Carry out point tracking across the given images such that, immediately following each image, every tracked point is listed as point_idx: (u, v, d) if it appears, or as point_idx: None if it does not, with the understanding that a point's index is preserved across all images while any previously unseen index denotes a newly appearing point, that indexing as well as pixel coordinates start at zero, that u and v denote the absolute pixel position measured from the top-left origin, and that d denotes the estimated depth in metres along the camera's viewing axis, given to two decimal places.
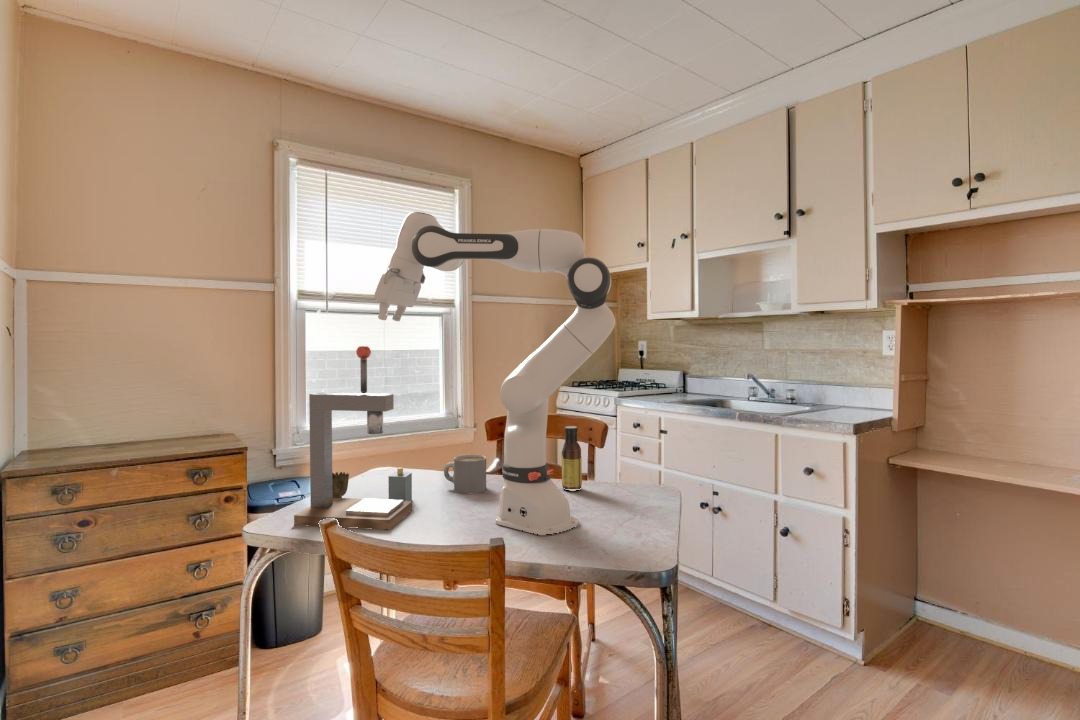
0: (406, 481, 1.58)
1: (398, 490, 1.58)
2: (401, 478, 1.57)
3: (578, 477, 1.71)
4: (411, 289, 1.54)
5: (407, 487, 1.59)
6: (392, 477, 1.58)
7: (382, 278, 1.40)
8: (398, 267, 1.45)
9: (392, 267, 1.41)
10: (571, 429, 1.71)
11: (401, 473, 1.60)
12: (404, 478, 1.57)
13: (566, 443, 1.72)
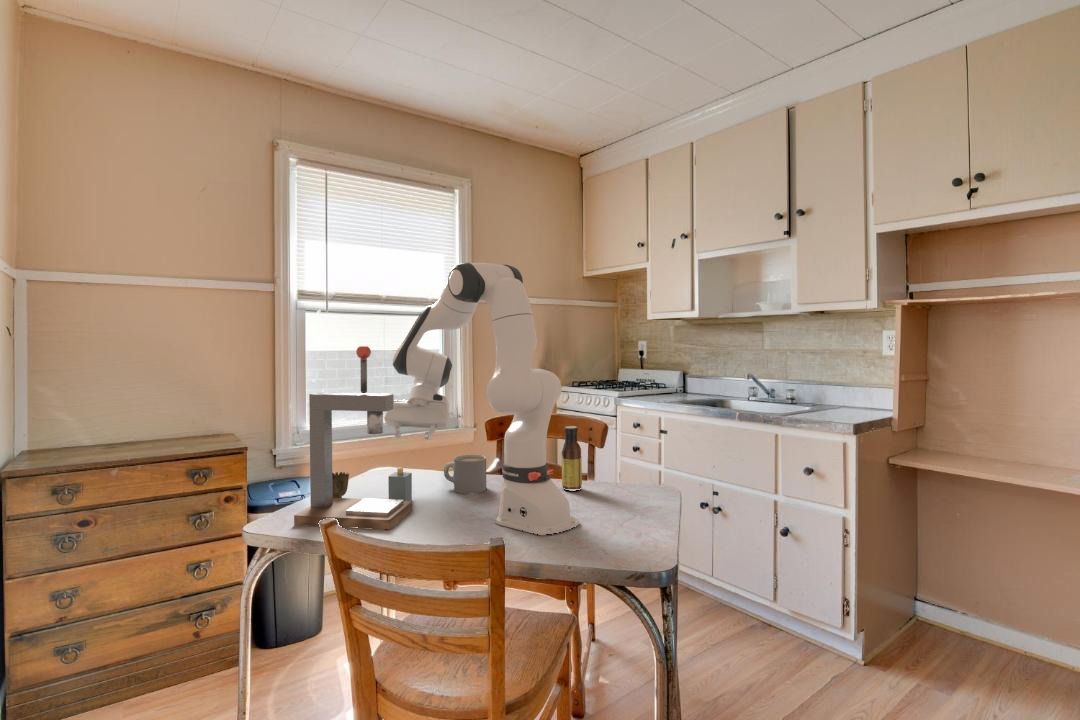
0: (406, 481, 1.58)
1: (398, 490, 1.58)
2: (401, 478, 1.57)
3: (578, 477, 1.71)
4: (433, 410, 1.76)
5: (407, 487, 1.59)
6: (392, 477, 1.58)
7: None
8: None
9: (396, 400, 1.81)
10: (571, 429, 1.71)
11: (401, 473, 1.60)
12: (404, 478, 1.57)
13: (566, 443, 1.72)
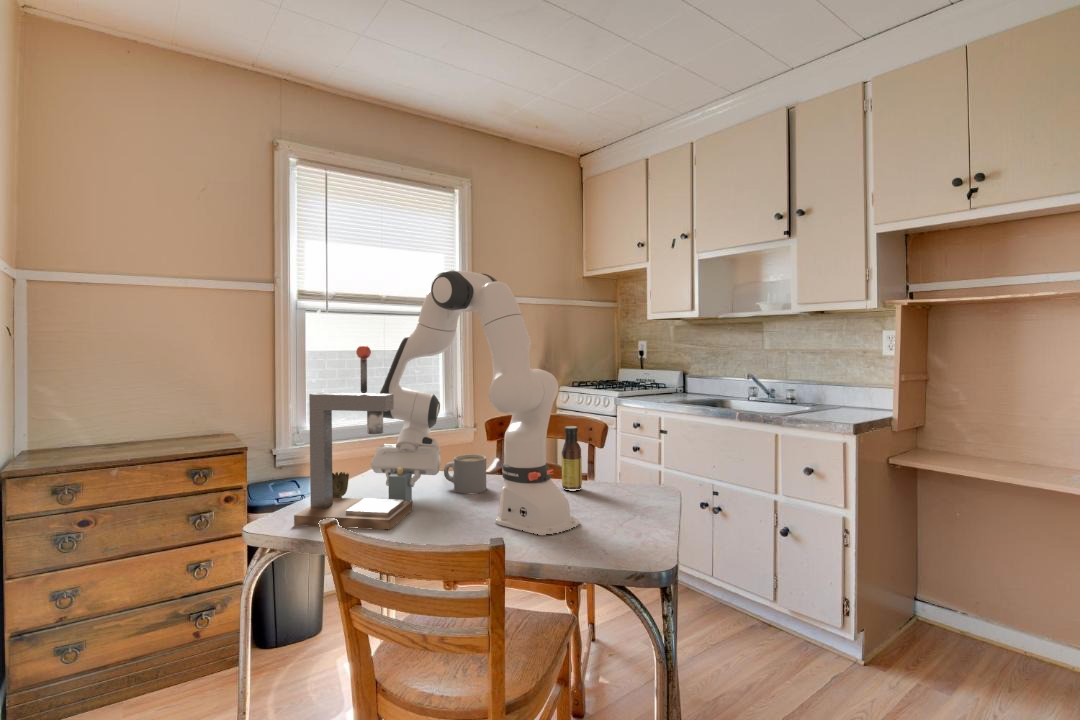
0: (406, 481, 1.58)
1: (398, 490, 1.58)
2: (401, 478, 1.57)
3: (578, 477, 1.71)
4: (422, 454, 1.64)
5: (407, 487, 1.59)
6: (392, 477, 1.58)
7: None
8: None
9: (385, 444, 1.70)
10: (571, 429, 1.71)
11: (401, 473, 1.60)
12: (404, 478, 1.57)
13: (566, 443, 1.72)
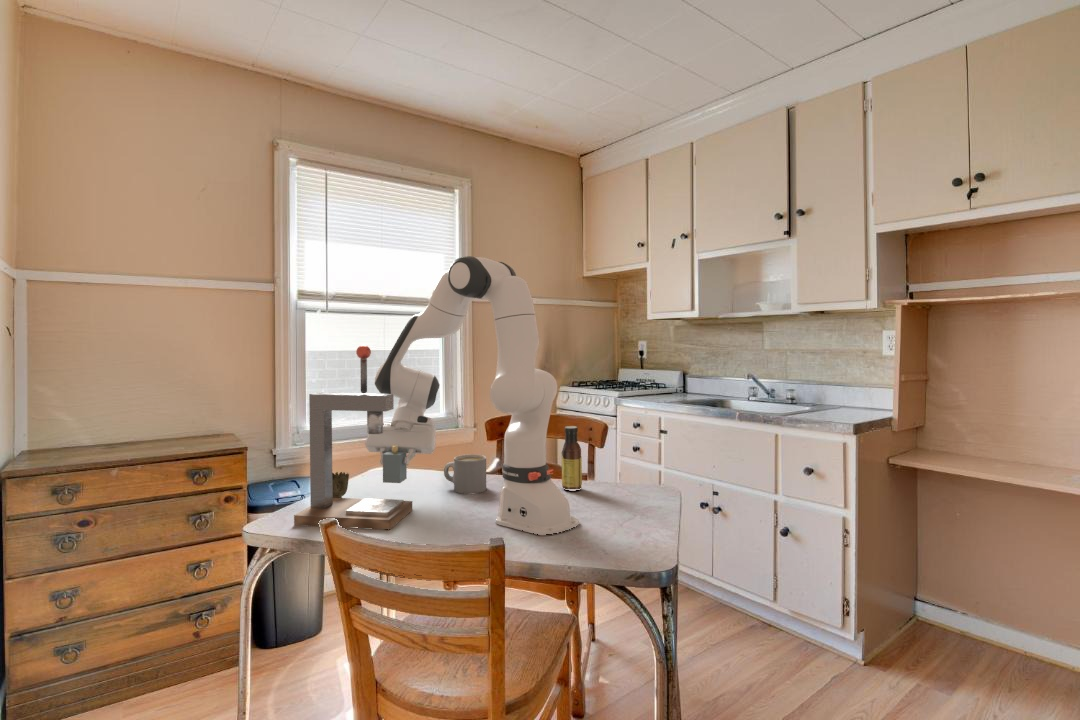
0: (400, 460, 1.56)
1: (393, 468, 1.56)
2: (395, 456, 1.55)
3: (578, 477, 1.71)
4: (417, 433, 1.62)
5: (402, 465, 1.57)
6: (386, 455, 1.56)
7: None
8: None
9: None
10: (571, 429, 1.71)
11: (396, 451, 1.58)
12: (398, 456, 1.55)
13: (566, 443, 1.72)
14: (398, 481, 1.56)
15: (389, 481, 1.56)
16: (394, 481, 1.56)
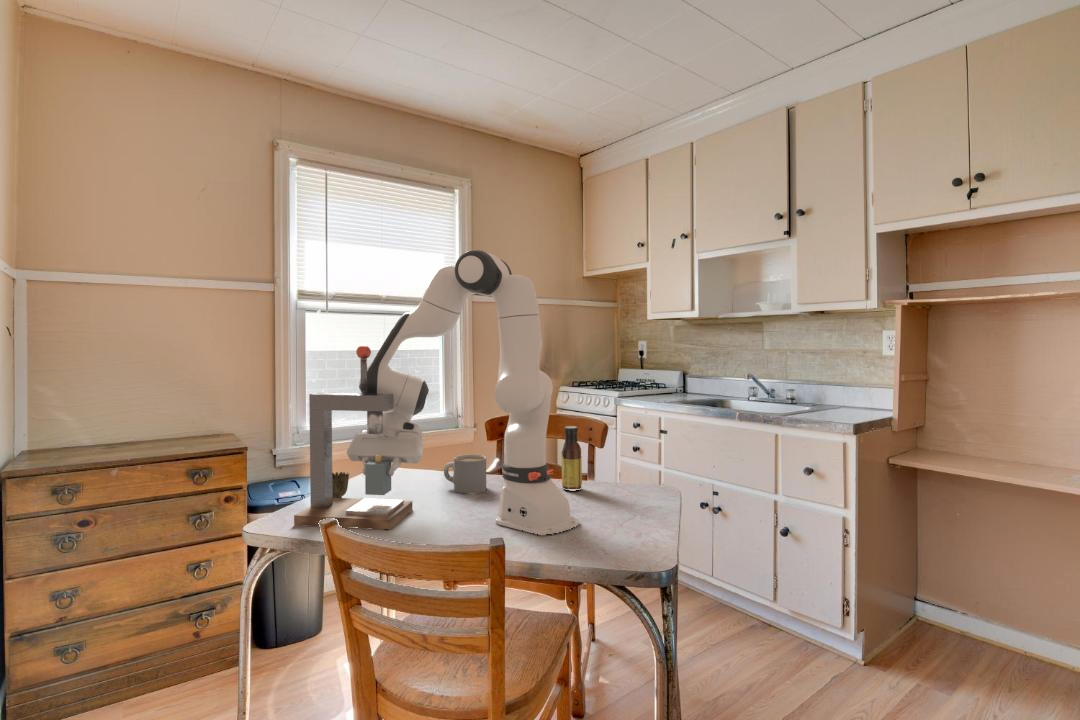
0: (384, 470, 1.45)
1: (376, 479, 1.45)
2: (379, 466, 1.44)
3: (578, 477, 1.71)
4: (402, 441, 1.51)
5: (386, 476, 1.46)
6: (369, 465, 1.45)
7: None
8: None
9: None
10: (571, 429, 1.71)
11: (379, 461, 1.46)
12: (382, 466, 1.44)
13: (566, 443, 1.72)
14: (382, 492, 1.44)
15: (372, 493, 1.45)
16: (377, 493, 1.45)
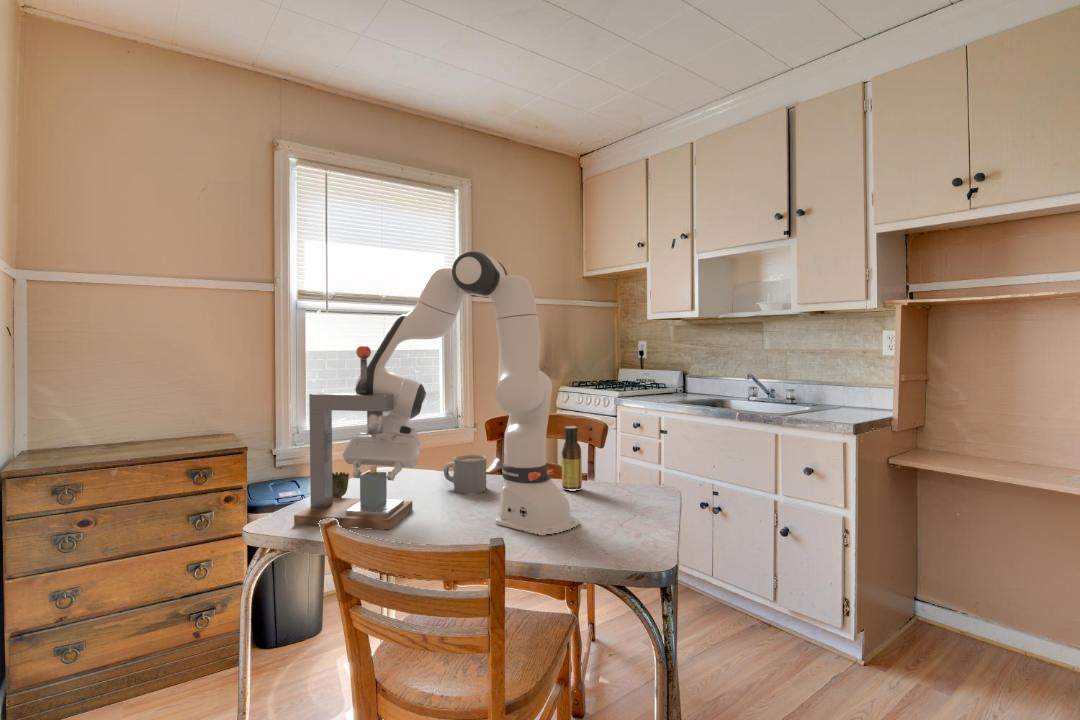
0: (379, 482, 1.44)
1: (371, 491, 1.44)
2: (374, 478, 1.43)
3: (578, 477, 1.71)
4: (399, 445, 1.50)
5: (380, 488, 1.45)
6: (364, 477, 1.44)
7: None
8: None
9: (360, 433, 1.56)
10: (571, 429, 1.71)
11: (374, 473, 1.45)
12: (377, 478, 1.43)
13: (566, 443, 1.72)
14: (376, 505, 1.44)
15: (367, 505, 1.44)
16: (372, 505, 1.44)
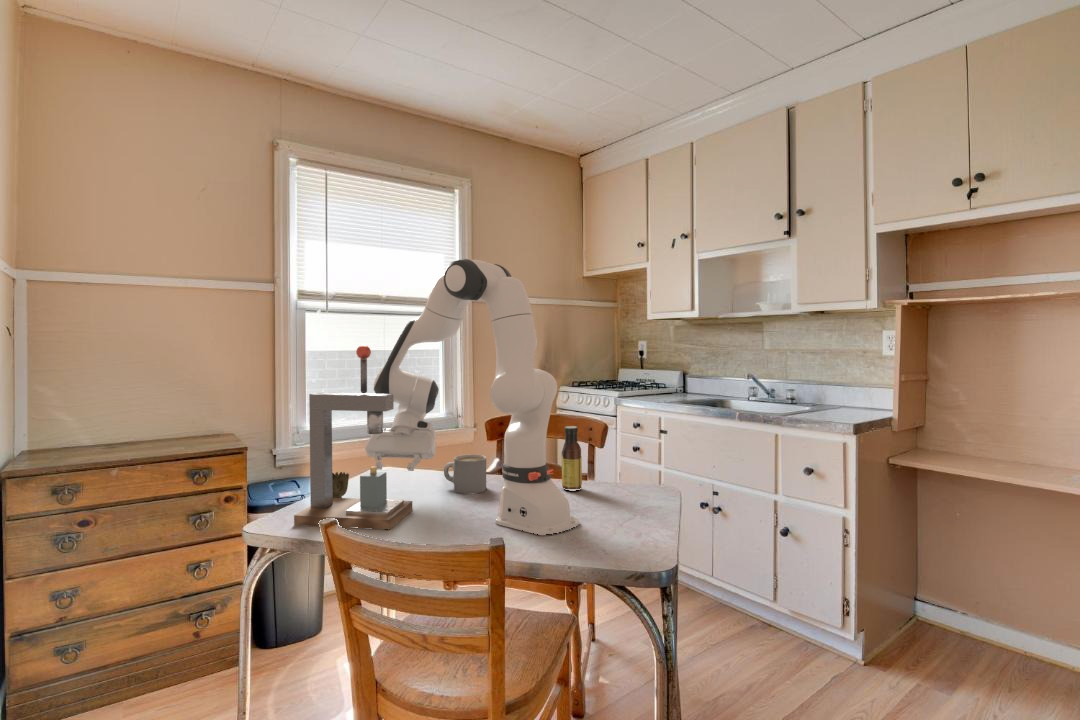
0: (379, 482, 1.44)
1: (371, 491, 1.44)
2: (374, 478, 1.43)
3: (578, 477, 1.71)
4: (417, 438, 1.62)
5: (380, 488, 1.45)
6: (364, 477, 1.44)
7: None
8: None
9: None
10: (571, 429, 1.71)
11: (374, 473, 1.45)
12: (377, 478, 1.43)
13: (566, 443, 1.72)
14: (376, 505, 1.44)
15: (367, 505, 1.44)
16: (372, 505, 1.44)
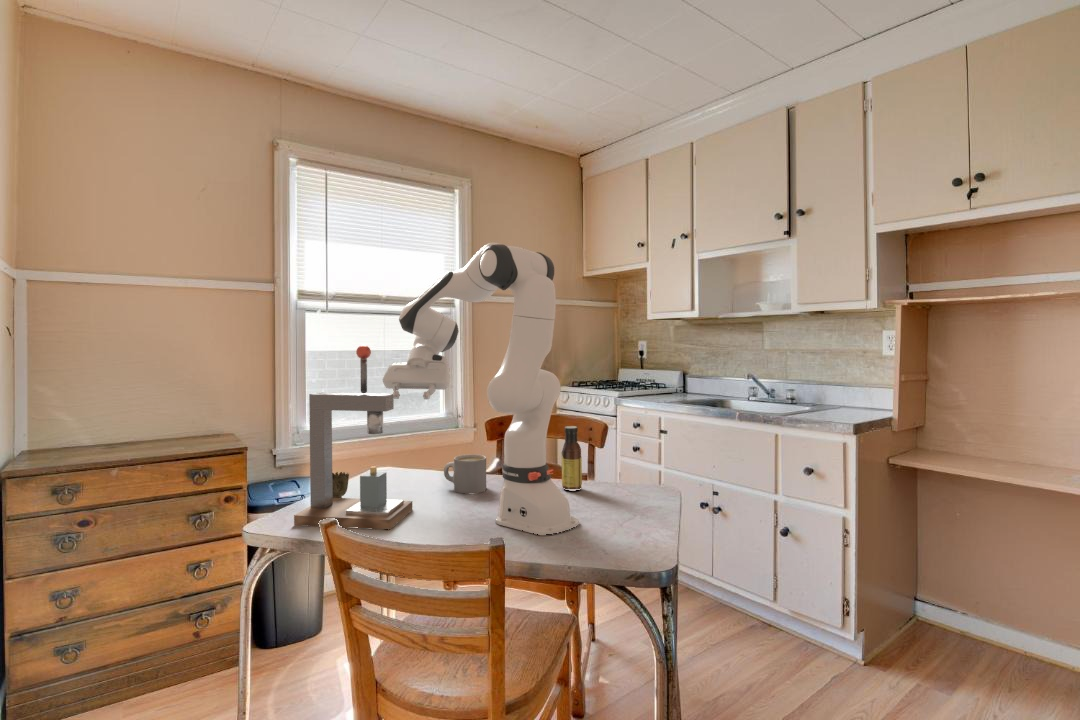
0: (379, 482, 1.44)
1: (371, 491, 1.44)
2: (374, 478, 1.43)
3: (578, 477, 1.71)
4: (432, 370, 1.70)
5: (380, 488, 1.45)
6: (364, 477, 1.44)
7: None
8: None
9: (396, 363, 1.76)
10: (571, 429, 1.71)
11: (374, 473, 1.45)
12: (377, 478, 1.43)
13: (566, 443, 1.72)
14: (376, 505, 1.44)
15: (367, 505, 1.44)
16: (372, 505, 1.44)
